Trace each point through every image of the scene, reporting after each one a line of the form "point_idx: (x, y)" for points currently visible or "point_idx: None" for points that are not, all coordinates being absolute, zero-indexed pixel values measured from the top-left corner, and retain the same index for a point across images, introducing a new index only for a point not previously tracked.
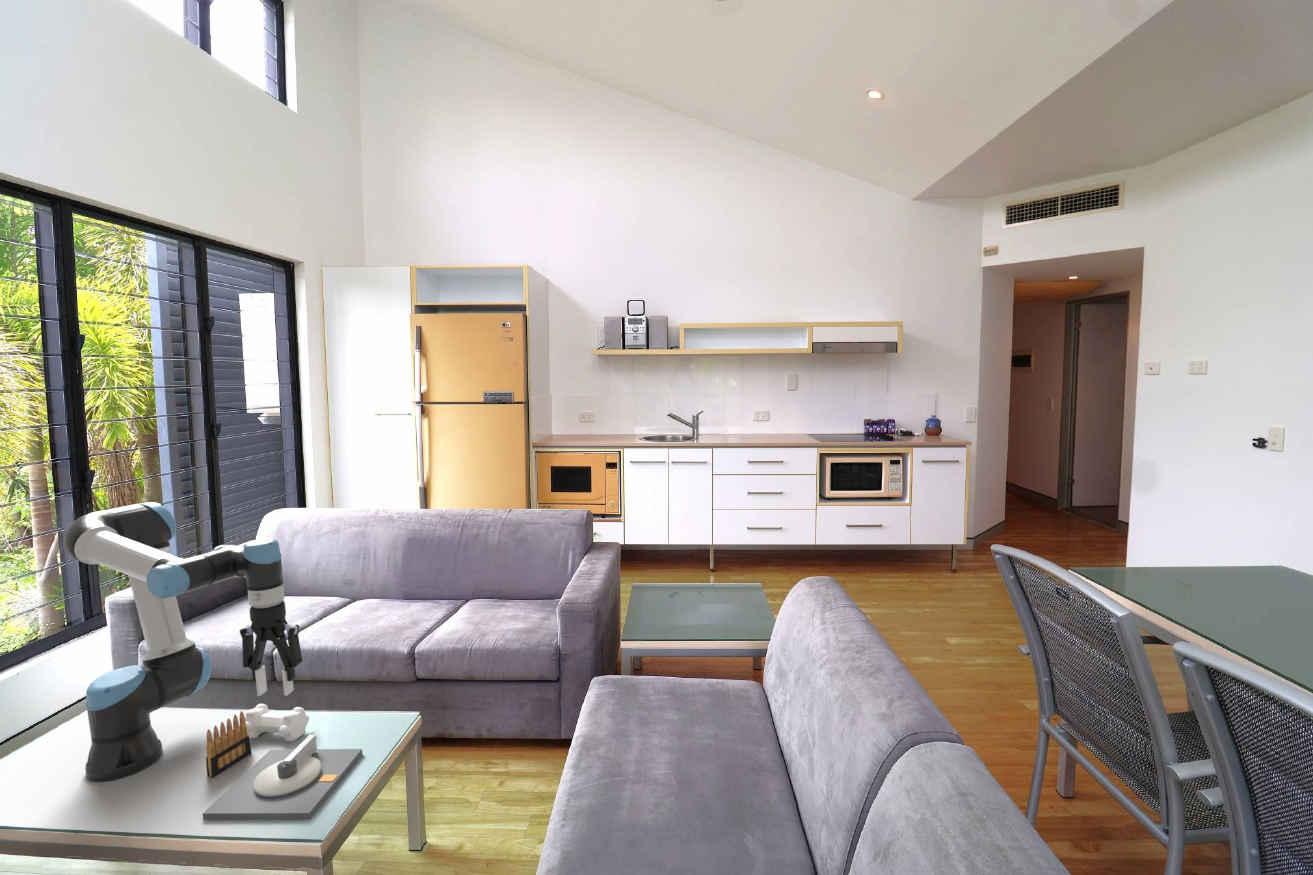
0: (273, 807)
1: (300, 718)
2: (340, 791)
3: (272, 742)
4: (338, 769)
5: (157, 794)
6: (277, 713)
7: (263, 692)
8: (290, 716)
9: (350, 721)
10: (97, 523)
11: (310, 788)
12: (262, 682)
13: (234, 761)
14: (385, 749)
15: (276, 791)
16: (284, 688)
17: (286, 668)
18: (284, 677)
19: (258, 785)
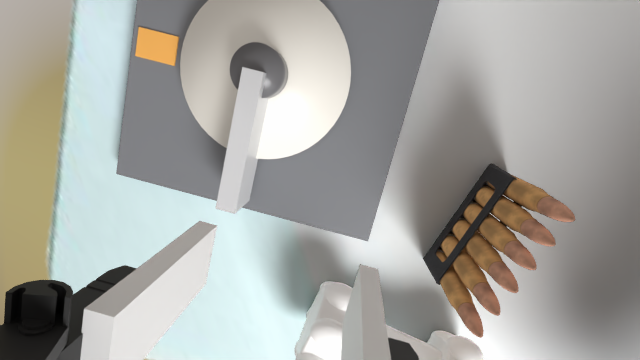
0: None
1: (305, 334)
2: (125, 7)
3: (383, 296)
4: (145, 85)
5: (621, 121)
6: None
7: (351, 292)
8: (322, 325)
9: (208, 339)
10: None
11: (190, 8)
12: (351, 334)
13: (454, 220)
14: (75, 177)
15: None
16: (192, 239)
17: (24, 292)
18: (140, 274)
19: (328, 29)
